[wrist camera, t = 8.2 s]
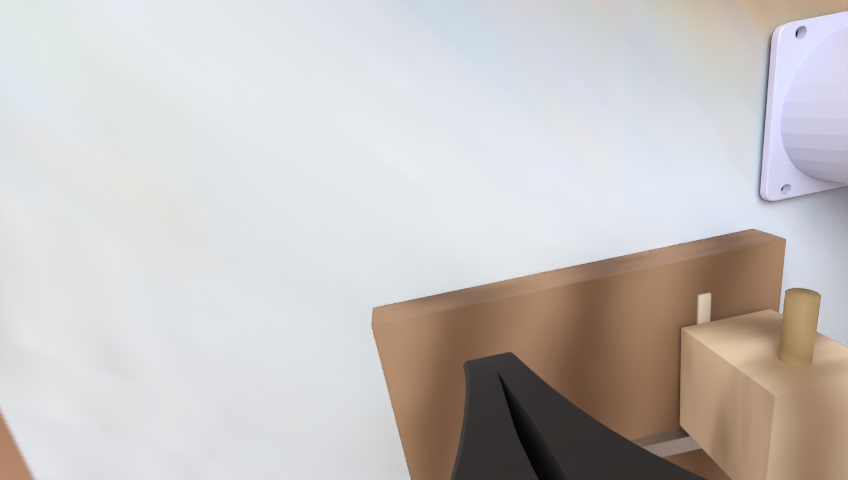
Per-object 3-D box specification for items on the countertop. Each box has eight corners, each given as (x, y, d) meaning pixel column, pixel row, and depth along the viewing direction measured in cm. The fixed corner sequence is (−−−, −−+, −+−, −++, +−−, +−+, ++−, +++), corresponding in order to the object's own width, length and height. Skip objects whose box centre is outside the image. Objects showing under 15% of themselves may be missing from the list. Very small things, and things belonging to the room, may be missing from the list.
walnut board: (752, 228, 21) (787, 239, 19) (736, 452, 25) (763, 478, 23) (373, 307, 20) (371, 326, 18) (426, 521, 25) (429, 554, 23)
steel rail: (769, 408, 22) (779, 416, 21) (767, 423, 22) (777, 431, 22) (413, 487, 21) (413, 497, 21) (416, 500, 22) (417, 511, 21)
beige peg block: (775, 252, 19) (907, 298, 14) (761, 406, 22) (867, 488, 17) (682, 272, 19) (782, 325, 14) (679, 424, 21) (762, 512, 17)
